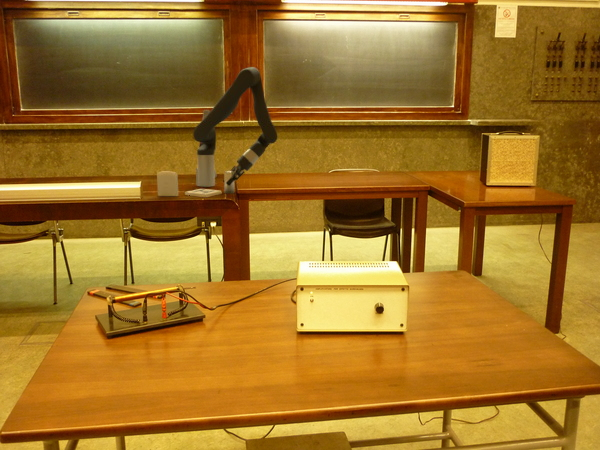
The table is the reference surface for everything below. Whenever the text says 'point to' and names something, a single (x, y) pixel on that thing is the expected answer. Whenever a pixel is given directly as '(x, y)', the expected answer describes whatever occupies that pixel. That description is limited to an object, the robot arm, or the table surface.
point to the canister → (227, 176)
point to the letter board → (203, 192)
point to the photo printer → (167, 183)
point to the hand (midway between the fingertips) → (225, 183)
